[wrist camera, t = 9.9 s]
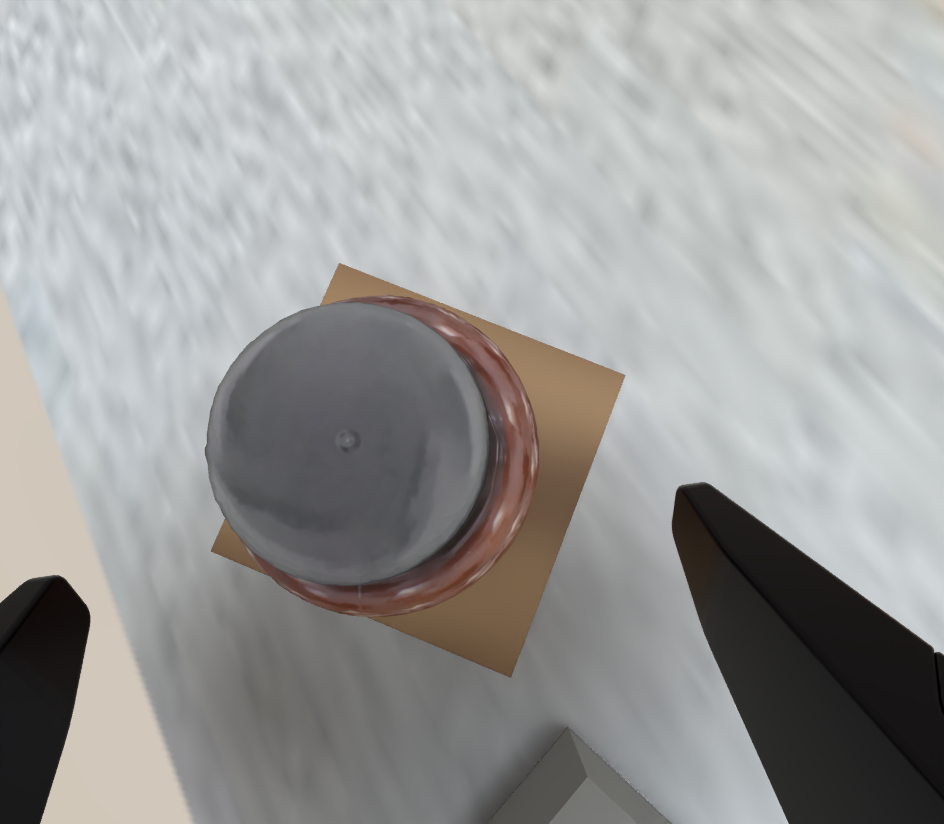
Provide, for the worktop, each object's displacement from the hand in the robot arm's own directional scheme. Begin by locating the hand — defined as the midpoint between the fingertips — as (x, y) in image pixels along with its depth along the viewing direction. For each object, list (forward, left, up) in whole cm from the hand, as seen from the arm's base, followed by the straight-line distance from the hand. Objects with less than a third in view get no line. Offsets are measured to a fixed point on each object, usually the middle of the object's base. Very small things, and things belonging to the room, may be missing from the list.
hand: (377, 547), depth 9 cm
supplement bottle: (+1, +1, -11) cm, 11 cm away
